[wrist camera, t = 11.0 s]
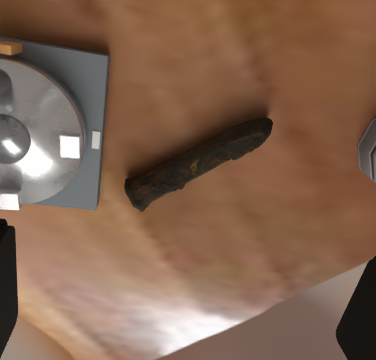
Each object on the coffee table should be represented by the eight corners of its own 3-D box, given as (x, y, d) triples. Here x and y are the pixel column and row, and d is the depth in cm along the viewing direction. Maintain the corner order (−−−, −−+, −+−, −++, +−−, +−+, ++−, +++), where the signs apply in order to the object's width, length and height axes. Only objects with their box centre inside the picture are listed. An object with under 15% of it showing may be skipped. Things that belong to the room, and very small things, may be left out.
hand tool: (139, 201, 45) (138, 220, 40) (123, 177, 43) (120, 194, 39) (273, 136, 43) (287, 149, 38) (262, 107, 41) (275, 117, 37)
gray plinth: (-77, 22, 34) (-112, 22, 29) (110, 54, 36) (103, 59, 32) (-56, 186, 41) (-82, 206, 36) (98, 202, 44) (92, 223, 39)
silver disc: (-48, 188, 39) (-94, 226, 32) (-76, 47, 33) (-141, 54, 25) (88, 195, 41) (74, 233, 34) (86, 63, 35) (69, 75, 27)
